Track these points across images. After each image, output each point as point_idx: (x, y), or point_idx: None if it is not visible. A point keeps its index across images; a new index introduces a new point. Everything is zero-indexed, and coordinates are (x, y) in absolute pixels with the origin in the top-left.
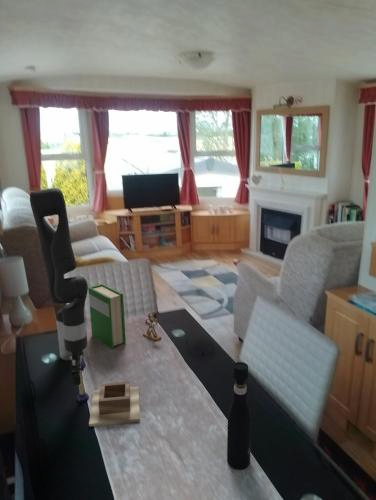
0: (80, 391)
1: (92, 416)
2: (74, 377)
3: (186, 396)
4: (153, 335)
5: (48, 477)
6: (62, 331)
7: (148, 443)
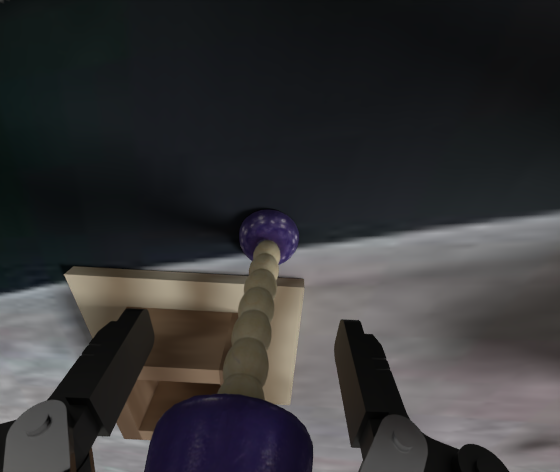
0: (256, 256)
1: (113, 284)
2: (54, 396)
3: None
4: None
5: None
6: None
7: (37, 392)
